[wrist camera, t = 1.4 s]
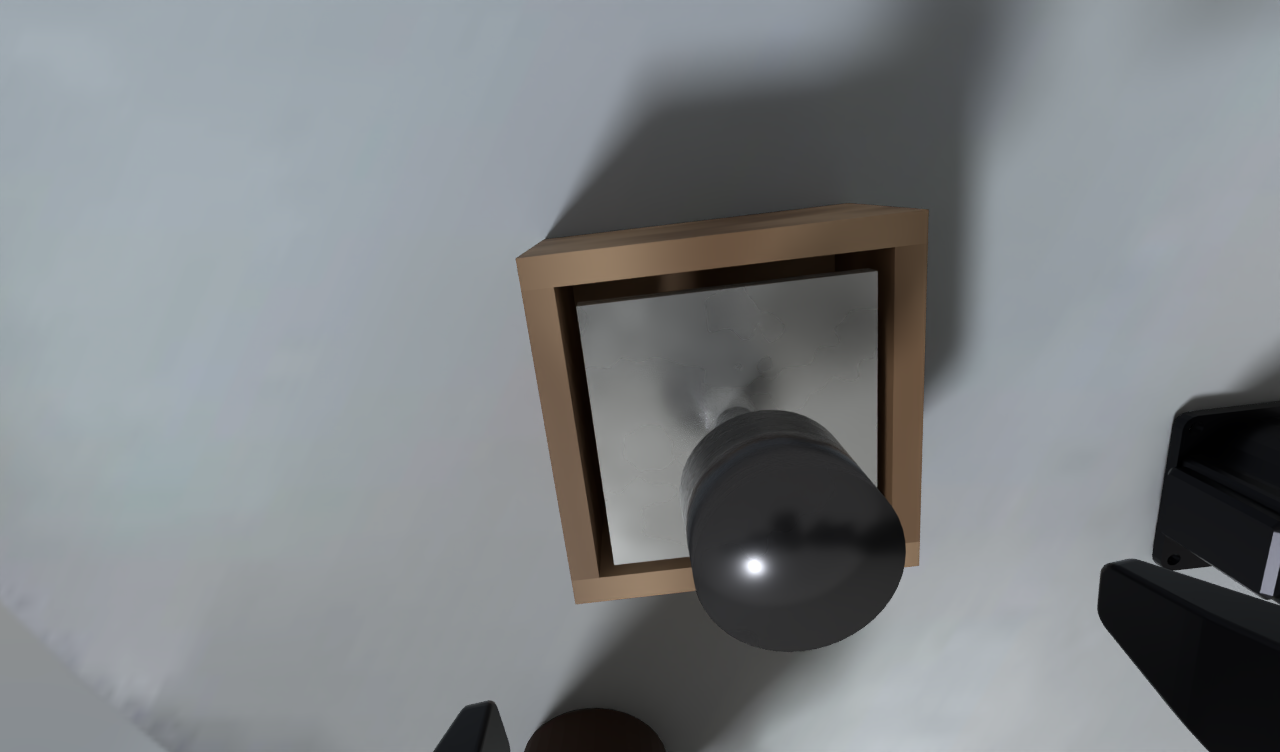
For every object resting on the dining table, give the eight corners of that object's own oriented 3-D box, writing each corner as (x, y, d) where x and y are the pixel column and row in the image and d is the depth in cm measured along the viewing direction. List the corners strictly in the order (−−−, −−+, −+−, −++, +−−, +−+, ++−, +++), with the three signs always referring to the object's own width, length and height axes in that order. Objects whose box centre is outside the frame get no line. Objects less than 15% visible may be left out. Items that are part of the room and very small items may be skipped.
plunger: (868, 267, 15) (1036, 324, 9) (868, 524, 18) (1004, 711, 11) (578, 302, 16) (546, 381, 9) (614, 553, 18) (609, 755, 11)
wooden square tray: (848, 203, 20) (928, 209, 15) (851, 478, 23) (918, 565, 18) (544, 239, 20) (515, 258, 15) (586, 508, 23) (575, 604, 18)
